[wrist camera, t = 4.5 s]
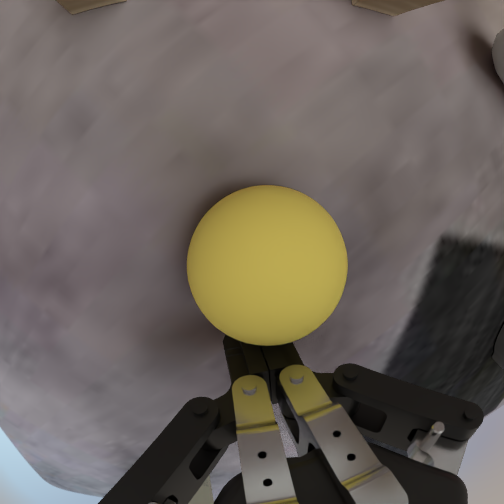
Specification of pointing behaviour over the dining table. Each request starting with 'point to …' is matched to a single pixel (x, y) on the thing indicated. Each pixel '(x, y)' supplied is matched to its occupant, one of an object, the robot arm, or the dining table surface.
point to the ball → (267, 265)
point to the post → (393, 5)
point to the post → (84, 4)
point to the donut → (499, 54)
